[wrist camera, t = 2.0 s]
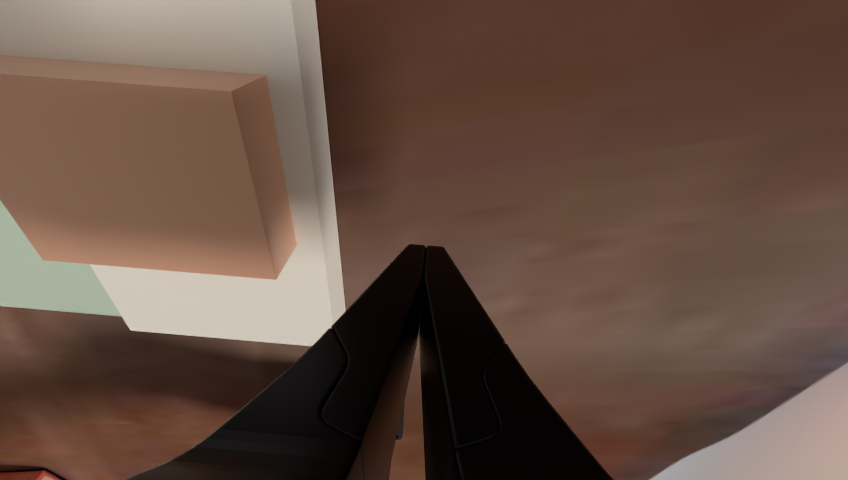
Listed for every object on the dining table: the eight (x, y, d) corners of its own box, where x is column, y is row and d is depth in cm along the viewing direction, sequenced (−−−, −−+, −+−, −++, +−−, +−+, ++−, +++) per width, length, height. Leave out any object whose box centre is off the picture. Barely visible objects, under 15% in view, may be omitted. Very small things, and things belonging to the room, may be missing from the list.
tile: (296, 245, 14) (276, 279, 12) (91, 228, 14) (42, 260, 12) (266, 74, 10) (230, 90, 9) (-8, 54, 10) (-94, 66, 9)
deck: (346, 316, 19) (336, 348, 17) (158, 300, 19) (130, 330, 17) (294, -216, 8) (256, -266, 7) (-122, -242, 9) (-257, -296, 7)
